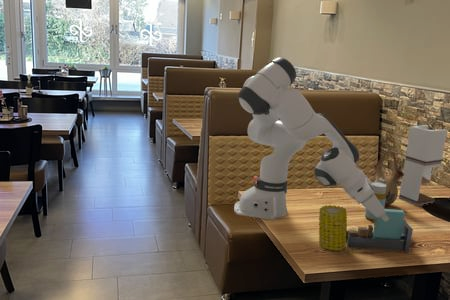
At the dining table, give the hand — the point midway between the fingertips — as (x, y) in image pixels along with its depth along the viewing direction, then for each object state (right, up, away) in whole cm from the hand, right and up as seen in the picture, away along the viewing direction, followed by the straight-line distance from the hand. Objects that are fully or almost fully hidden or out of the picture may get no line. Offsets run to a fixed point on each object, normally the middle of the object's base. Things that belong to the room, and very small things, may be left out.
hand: (383, 214), depth 152 cm
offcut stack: (-7, -12, +4) cm, 14 cm away
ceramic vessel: (+16, -2, +46) cm, 48 cm away
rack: (-2, -12, +4) cm, 13 cm away
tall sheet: (+2, -12, +3) cm, 13 cm away
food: (-18, -12, +2) cm, 22 cm away
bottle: (+6, -6, +29) cm, 30 cm away
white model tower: (+35, -2, +52) cm, 63 cm away
